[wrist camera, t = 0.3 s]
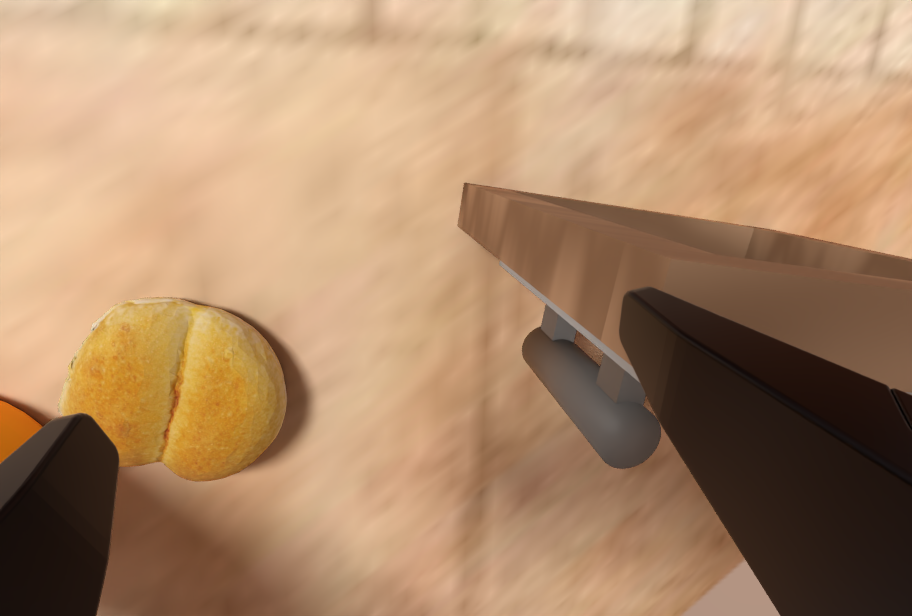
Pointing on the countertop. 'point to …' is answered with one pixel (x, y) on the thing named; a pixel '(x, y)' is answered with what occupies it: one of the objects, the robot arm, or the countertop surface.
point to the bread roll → (178, 387)
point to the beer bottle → (14, 429)
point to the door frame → (703, 275)
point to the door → (591, 387)
